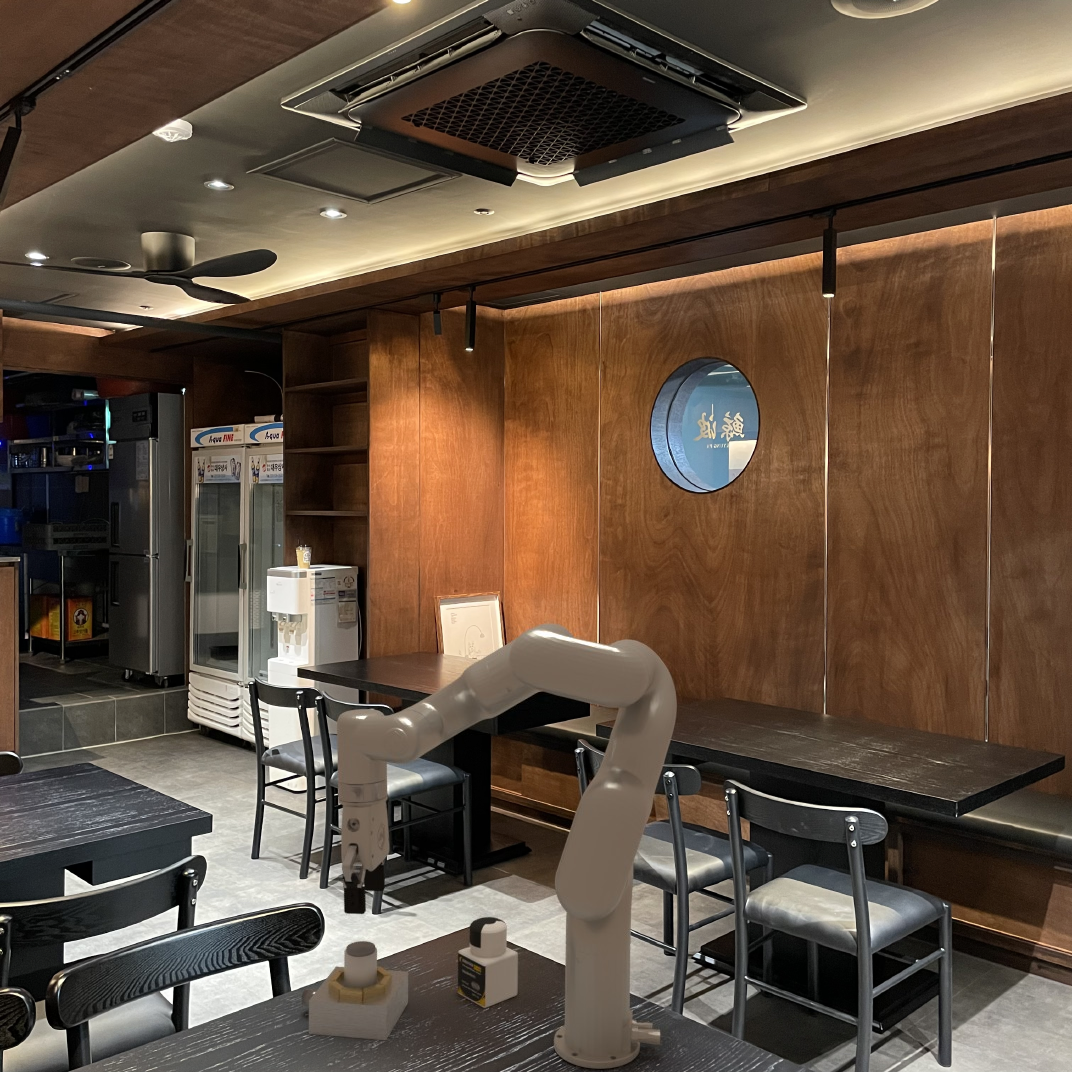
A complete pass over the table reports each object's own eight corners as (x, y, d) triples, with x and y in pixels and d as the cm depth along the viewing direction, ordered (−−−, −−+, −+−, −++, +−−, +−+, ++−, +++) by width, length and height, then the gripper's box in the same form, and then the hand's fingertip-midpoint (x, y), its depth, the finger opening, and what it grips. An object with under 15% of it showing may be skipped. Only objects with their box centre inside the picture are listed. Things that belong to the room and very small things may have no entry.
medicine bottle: (456, 993, 164) (457, 920, 164) (490, 980, 169) (491, 909, 169) (484, 1009, 159) (485, 933, 159) (518, 995, 164) (519, 922, 164)
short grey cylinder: (380, 979, 158) (381, 941, 158) (371, 994, 153) (371, 954, 153) (350, 977, 158) (350, 939, 158) (339, 991, 153) (339, 952, 153)
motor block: (407, 1002, 161) (408, 964, 161) (386, 1040, 149) (386, 998, 149) (317, 995, 163) (318, 957, 163) (289, 1032, 151) (290, 991, 151)
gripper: (369, 806, 146) (371, 923, 146) (401, 777, 163) (403, 883, 163) (319, 805, 147) (322, 921, 147) (357, 777, 165) (359, 881, 164)
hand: (365, 901), depth 155 cm, fingers open, 9 cm apart
